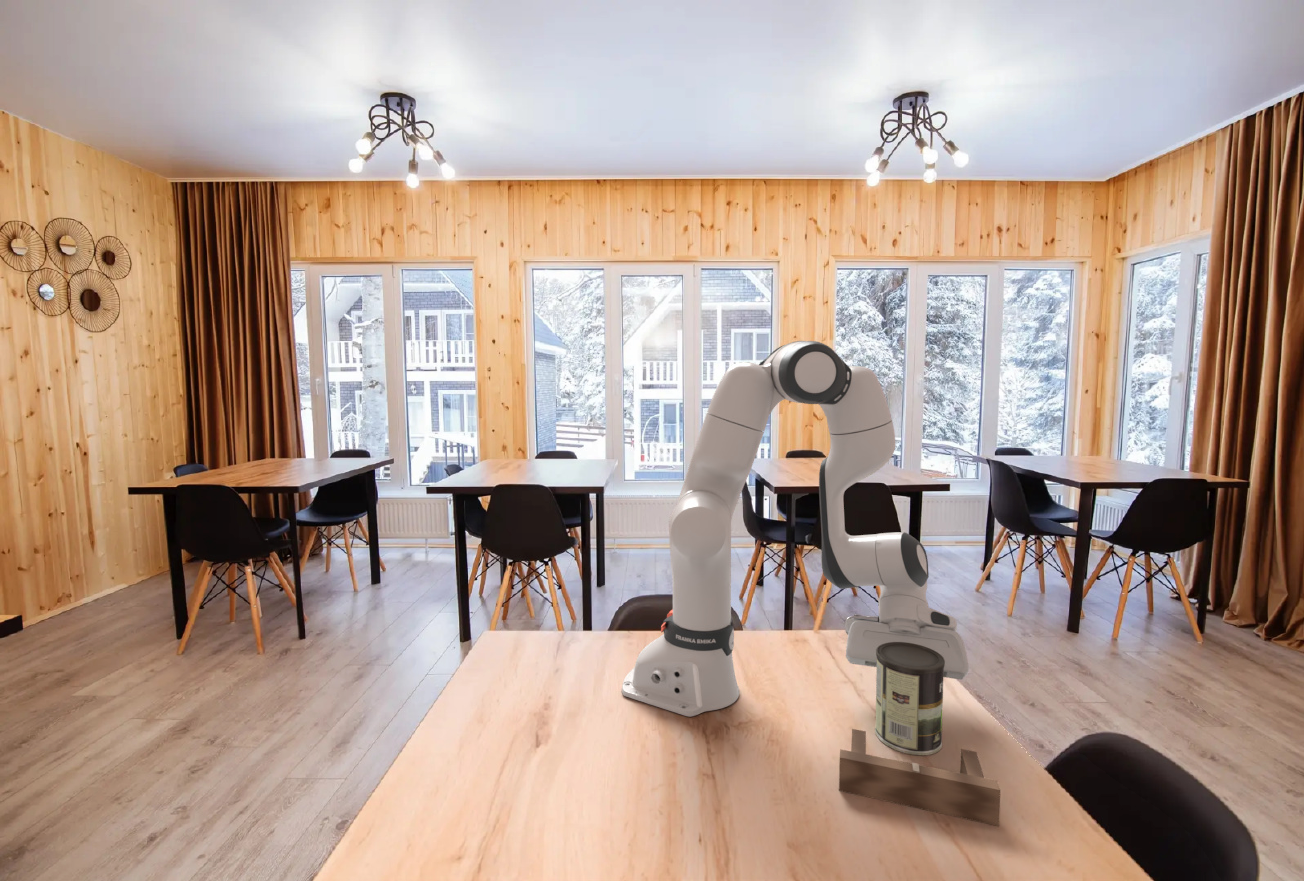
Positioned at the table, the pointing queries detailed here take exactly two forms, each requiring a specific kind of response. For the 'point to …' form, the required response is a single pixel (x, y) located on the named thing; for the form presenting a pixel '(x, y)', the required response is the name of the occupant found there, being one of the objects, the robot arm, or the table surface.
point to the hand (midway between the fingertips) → (905, 695)
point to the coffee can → (909, 697)
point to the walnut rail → (921, 783)
